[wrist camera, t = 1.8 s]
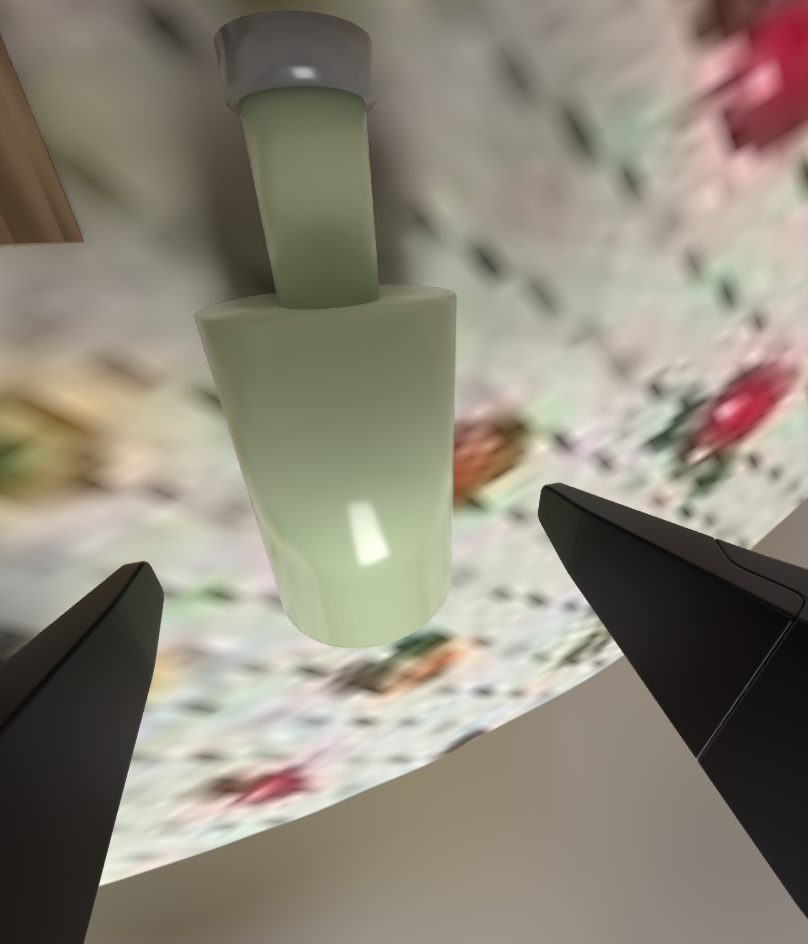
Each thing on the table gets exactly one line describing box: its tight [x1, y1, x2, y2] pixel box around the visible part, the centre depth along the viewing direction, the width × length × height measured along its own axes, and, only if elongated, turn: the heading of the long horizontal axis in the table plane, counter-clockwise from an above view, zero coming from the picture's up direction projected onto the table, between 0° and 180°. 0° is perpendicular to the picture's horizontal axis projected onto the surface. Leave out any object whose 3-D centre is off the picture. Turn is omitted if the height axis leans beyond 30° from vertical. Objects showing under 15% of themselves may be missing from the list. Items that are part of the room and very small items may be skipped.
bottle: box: [194, 11, 456, 648], centre depth 11 cm, size 13×6×6 cm, turn 3°
